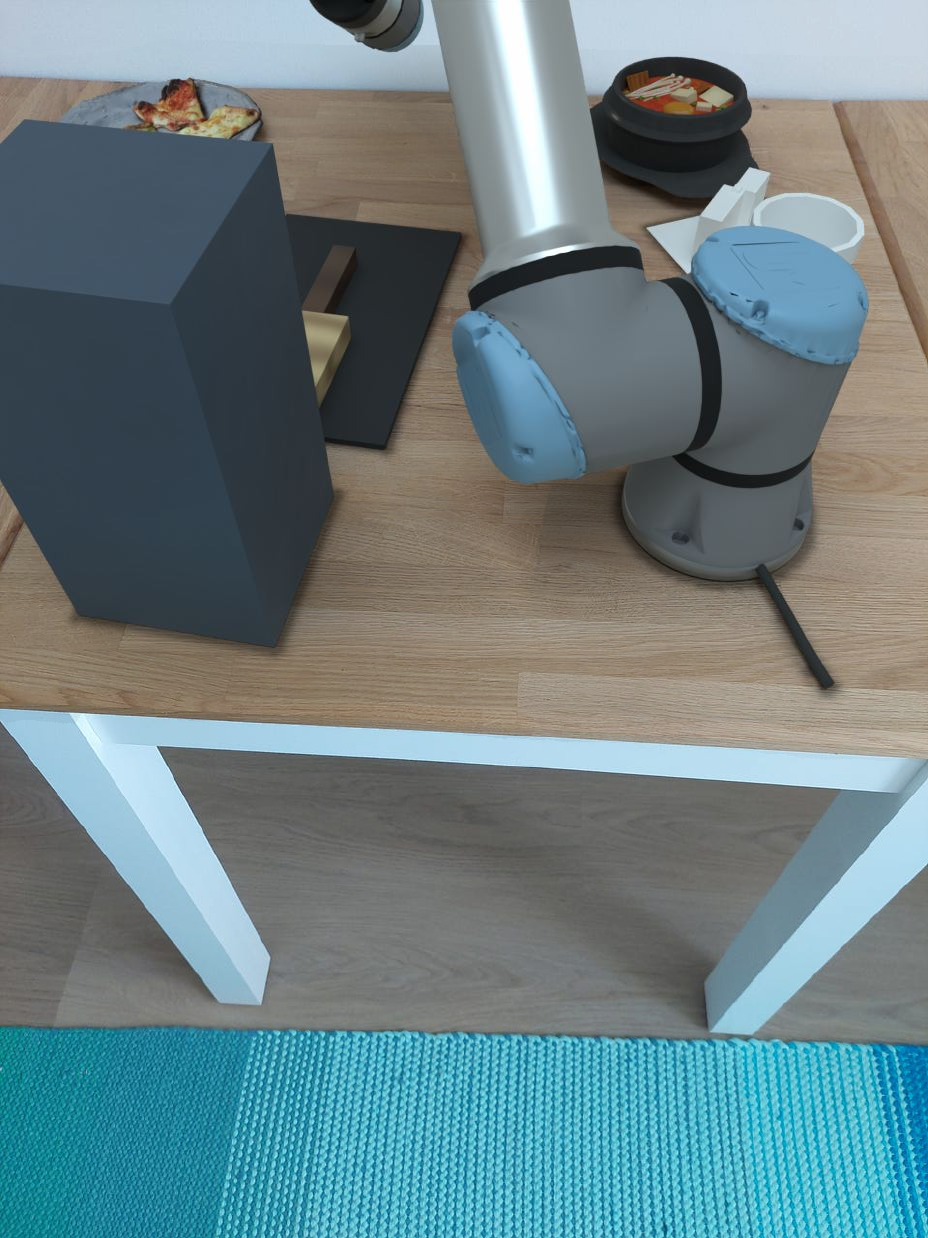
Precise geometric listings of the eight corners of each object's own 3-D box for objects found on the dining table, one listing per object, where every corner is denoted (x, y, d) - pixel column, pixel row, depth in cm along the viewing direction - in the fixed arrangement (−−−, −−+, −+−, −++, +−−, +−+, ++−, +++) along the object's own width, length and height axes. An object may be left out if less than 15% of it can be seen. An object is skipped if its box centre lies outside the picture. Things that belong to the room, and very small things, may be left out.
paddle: (310, 258, 99) (307, 236, 97) (383, 267, 98) (381, 245, 96) (230, 407, 85) (224, 386, 83) (314, 419, 84) (310, 398, 82)
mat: (287, 218, 105) (286, 213, 104) (461, 236, 102) (461, 231, 102) (172, 420, 85) (170, 415, 84) (384, 450, 83) (384, 445, 82)
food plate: (208, 78, 125) (202, 49, 122) (300, 147, 114) (295, 118, 111) (30, 136, 116) (19, 107, 113) (110, 217, 105) (100, 187, 102)
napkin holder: (696, 284, 97) (708, 233, 92) (644, 227, 103) (653, 177, 98) (819, 253, 100) (836, 202, 95) (761, 199, 106) (775, 149, 101)
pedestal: (158, 470, 81) (24, 118, 57) (334, 495, 79) (273, 142, 55) (77, 614, 72) (-123, 268, 48) (275, 647, 70) (170, 303, 46)
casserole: (549, 128, 116) (554, 55, 109) (676, 97, 121) (688, 25, 114) (656, 229, 103) (669, 154, 96) (794, 190, 107) (816, 115, 100)
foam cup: (819, 384, 87) (866, 258, 77) (719, 372, 88) (752, 246, 78) (817, 322, 93) (861, 197, 82) (723, 311, 94) (754, 187, 83)
